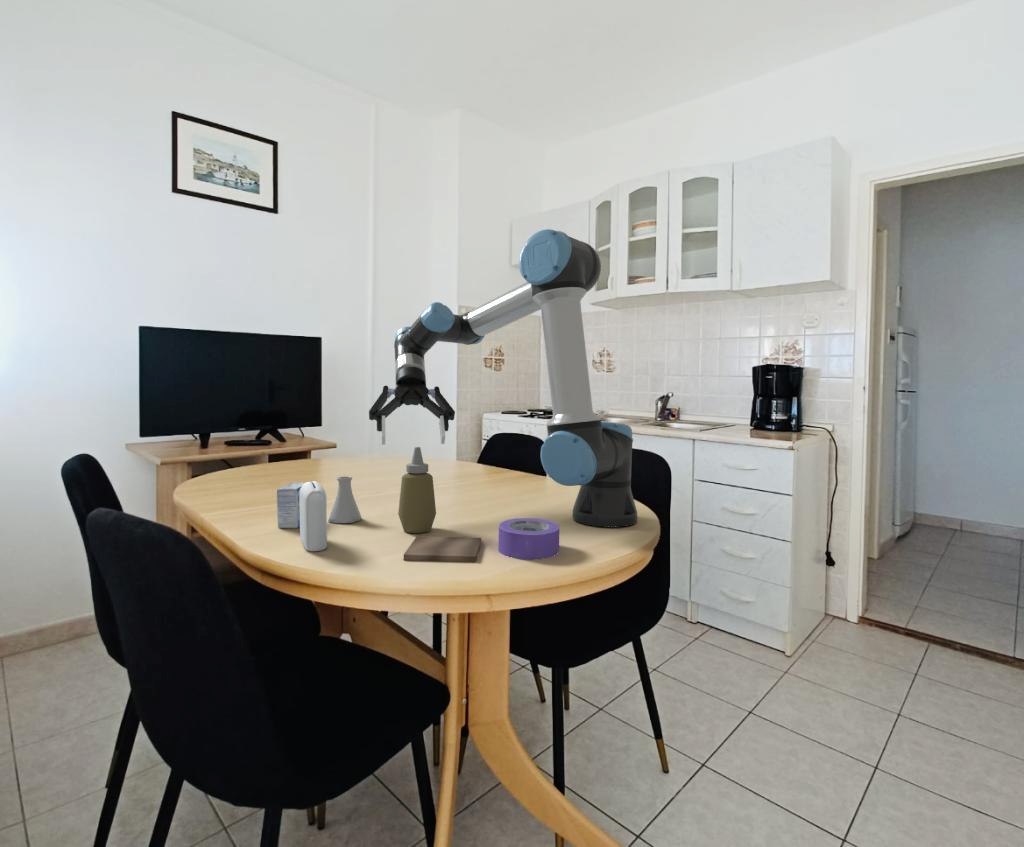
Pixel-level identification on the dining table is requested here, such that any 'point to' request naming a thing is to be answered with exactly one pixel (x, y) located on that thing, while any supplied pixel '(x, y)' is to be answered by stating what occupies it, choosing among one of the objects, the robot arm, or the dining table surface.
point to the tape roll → (528, 538)
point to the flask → (344, 503)
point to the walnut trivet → (443, 549)
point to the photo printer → (313, 516)
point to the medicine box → (289, 506)
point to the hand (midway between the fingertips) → (413, 440)
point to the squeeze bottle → (417, 496)
